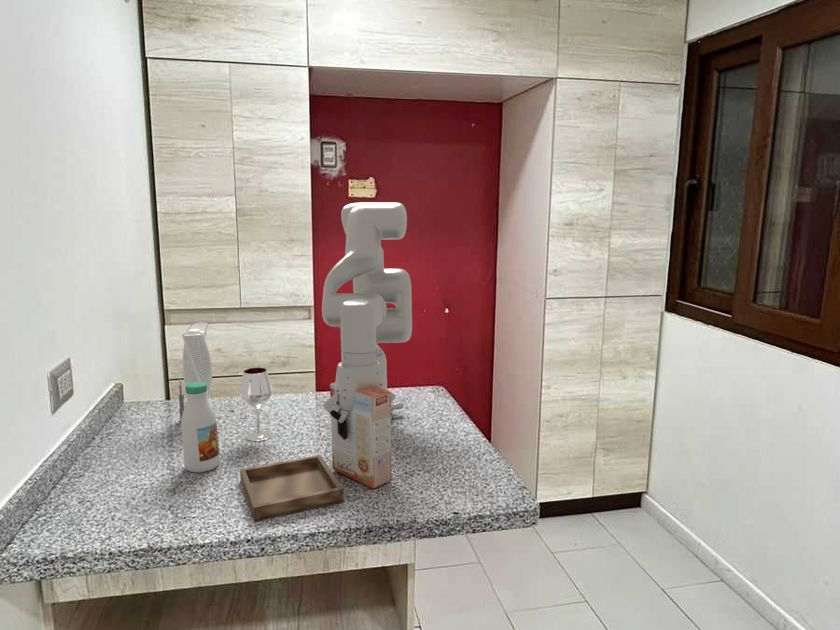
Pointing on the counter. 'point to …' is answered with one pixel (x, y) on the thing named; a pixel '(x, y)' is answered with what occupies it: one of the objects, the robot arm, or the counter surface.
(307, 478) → the walnut tray
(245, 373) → the wineglass
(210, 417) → the milk bottle
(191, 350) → the skyscraper
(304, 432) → the counter surface
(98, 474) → the counter surface
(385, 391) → the cracker box
